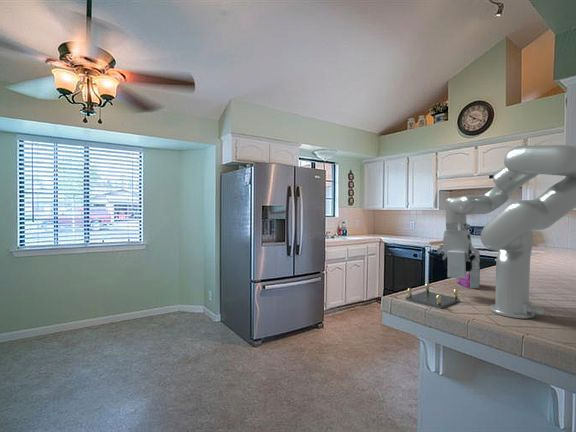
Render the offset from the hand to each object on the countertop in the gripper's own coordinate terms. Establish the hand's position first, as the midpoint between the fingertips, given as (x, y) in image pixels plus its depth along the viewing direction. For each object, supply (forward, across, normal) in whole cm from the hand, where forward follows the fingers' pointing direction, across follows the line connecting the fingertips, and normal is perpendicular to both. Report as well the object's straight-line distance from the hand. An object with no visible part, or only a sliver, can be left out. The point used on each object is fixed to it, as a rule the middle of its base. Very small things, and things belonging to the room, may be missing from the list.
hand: (457, 269), depth 128 cm
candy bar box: (+11, +6, -22) cm, 26 cm away
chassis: (+11, +4, +14) cm, 18 cm away
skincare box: (+3, 0, 0) cm, 3 cm away
